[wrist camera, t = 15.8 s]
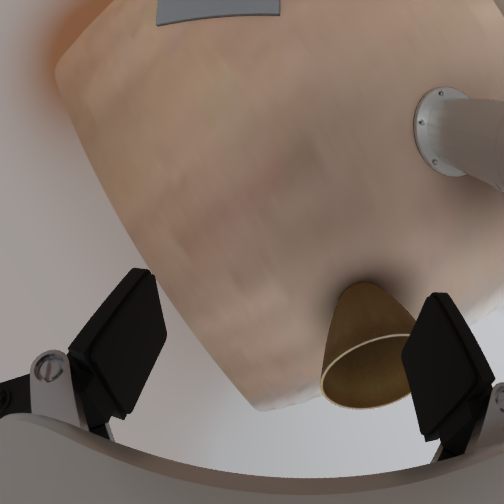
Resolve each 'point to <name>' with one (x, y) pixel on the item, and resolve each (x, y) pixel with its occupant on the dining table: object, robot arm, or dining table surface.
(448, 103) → the robot arm
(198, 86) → the dining table surface
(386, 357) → the plant pot
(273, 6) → the mat
